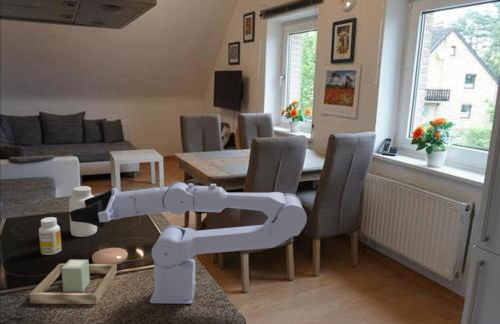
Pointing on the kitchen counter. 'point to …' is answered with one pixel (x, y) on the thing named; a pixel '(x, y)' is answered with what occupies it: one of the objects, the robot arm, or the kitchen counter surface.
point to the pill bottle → (77, 203)
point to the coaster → (109, 256)
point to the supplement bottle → (49, 236)
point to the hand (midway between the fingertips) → (78, 210)
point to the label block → (75, 275)
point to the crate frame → (73, 298)
